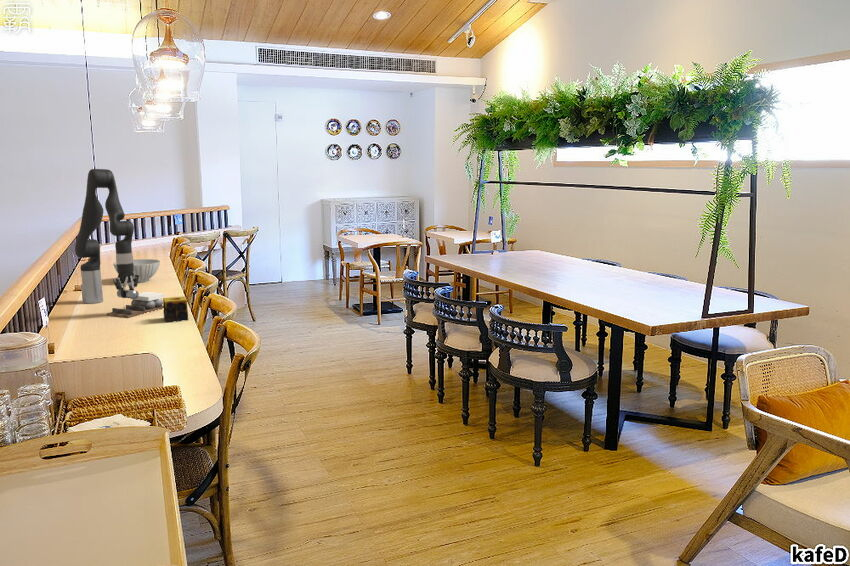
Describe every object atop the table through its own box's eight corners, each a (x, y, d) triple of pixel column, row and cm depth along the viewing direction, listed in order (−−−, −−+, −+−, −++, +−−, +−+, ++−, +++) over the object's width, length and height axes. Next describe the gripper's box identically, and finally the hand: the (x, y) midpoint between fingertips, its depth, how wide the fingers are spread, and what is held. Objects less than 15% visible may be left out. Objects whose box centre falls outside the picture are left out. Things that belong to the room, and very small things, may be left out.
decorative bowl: (150, 285, 394) (148, 265, 392) (106, 285, 395) (104, 265, 393) (168, 277, 421) (166, 259, 419) (127, 277, 421) (125, 259, 419)
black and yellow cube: (165, 323, 300) (164, 301, 298) (163, 318, 309) (161, 297, 307) (188, 320, 305) (187, 299, 303) (185, 316, 314) (184, 295, 312)
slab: (130, 299, 326) (130, 295, 326) (146, 295, 335) (146, 291, 335) (148, 301, 322) (148, 297, 321) (164, 297, 331) (163, 293, 330)
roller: (117, 297, 317) (116, 289, 317) (123, 296, 321) (123, 288, 321) (132, 299, 314) (131, 291, 313) (138, 298, 317) (138, 290, 317)
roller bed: (106, 315, 315) (105, 305, 314) (145, 305, 337) (145, 296, 336) (128, 318, 310) (127, 307, 309) (166, 307, 331) (165, 298, 330)
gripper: (131, 259, 322) (133, 293, 325) (106, 263, 309) (110, 299, 312) (142, 260, 319) (145, 295, 322) (118, 264, 306) (121, 300, 309)
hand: (127, 296), depth 317 cm, fingers closed on roller, 4 cm apart
